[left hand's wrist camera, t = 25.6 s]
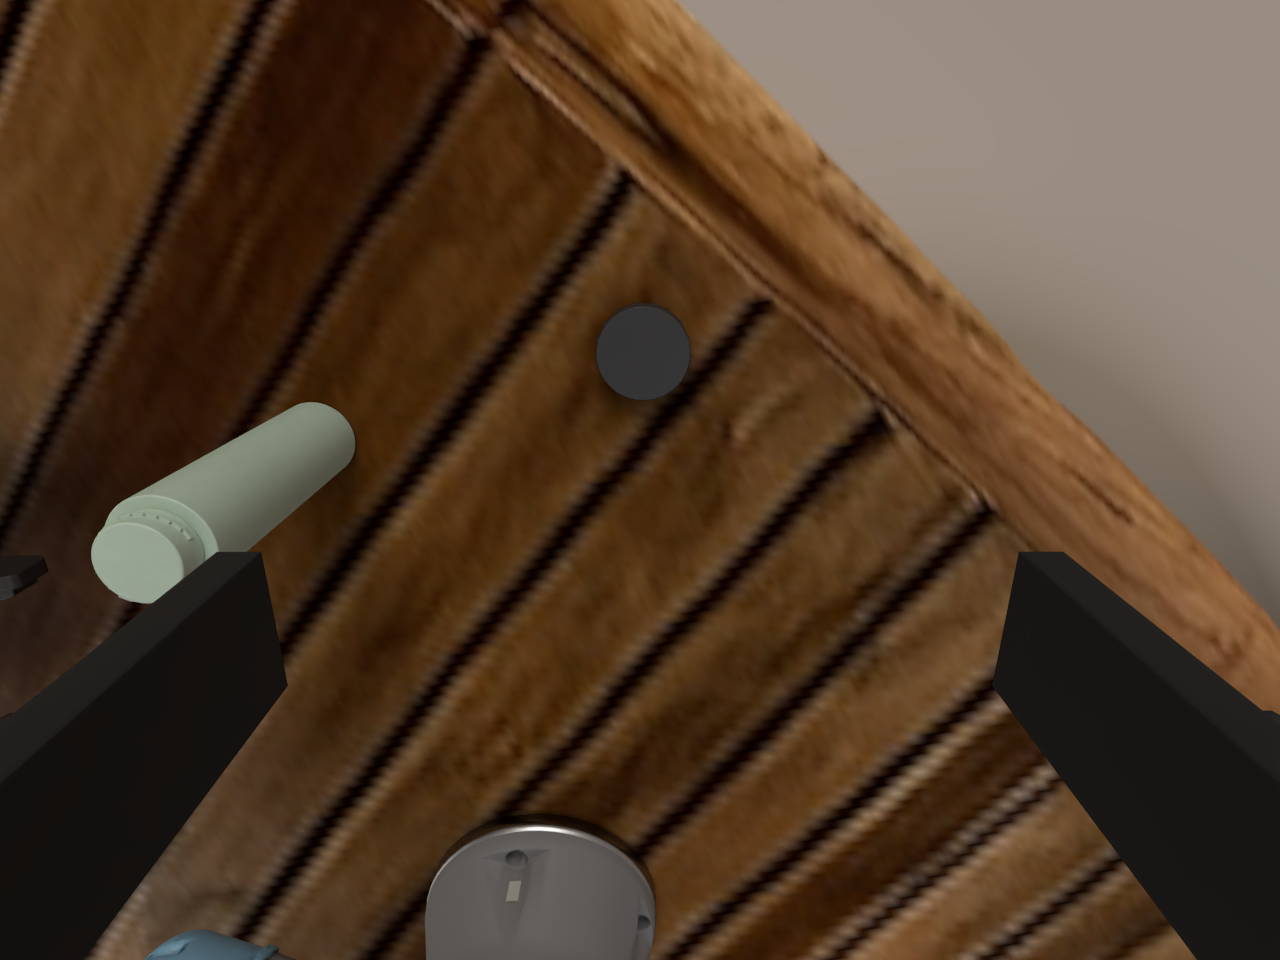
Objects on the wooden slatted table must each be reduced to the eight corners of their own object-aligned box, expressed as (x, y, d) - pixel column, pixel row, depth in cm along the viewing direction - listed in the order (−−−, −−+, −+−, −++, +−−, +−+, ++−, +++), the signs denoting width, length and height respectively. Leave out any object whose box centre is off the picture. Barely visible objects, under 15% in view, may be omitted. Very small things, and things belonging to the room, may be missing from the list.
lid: (646, 413, 38) (646, 421, 36) (577, 352, 37) (574, 358, 35) (708, 345, 37) (711, 351, 35) (638, 281, 35) (638, 284, 34)
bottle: (295, 387, 37) (94, 488, 24) (367, 425, 38) (213, 545, 24) (267, 451, 38) (61, 583, 25) (338, 487, 39) (175, 634, 25)
